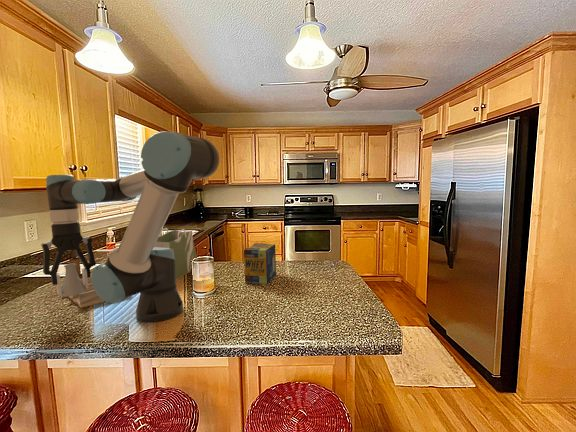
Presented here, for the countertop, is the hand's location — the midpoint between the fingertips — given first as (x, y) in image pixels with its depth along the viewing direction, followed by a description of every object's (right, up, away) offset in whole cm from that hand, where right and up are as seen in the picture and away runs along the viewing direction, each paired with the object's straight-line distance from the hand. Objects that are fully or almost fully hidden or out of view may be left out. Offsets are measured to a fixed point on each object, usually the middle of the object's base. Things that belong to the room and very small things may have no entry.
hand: (73, 290), depth 102 cm
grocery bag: (+14, -4, +54) cm, 56 cm away
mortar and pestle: (-29, -7, +44) cm, 53 cm away
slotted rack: (-7, -8, +25) cm, 27 cm away
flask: (0, -1, 0) cm, 1 cm away
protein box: (+59, -5, +40) cm, 72 cm away
